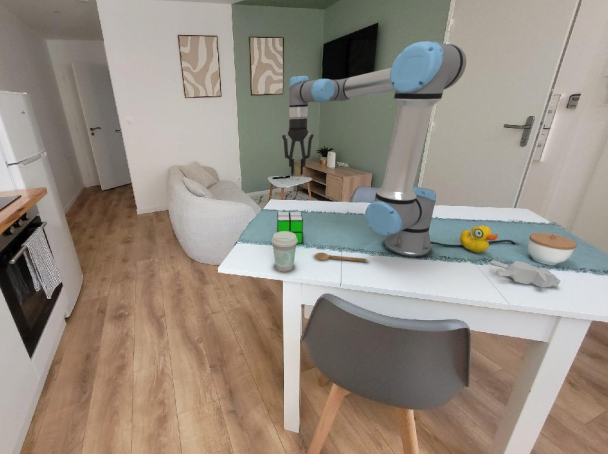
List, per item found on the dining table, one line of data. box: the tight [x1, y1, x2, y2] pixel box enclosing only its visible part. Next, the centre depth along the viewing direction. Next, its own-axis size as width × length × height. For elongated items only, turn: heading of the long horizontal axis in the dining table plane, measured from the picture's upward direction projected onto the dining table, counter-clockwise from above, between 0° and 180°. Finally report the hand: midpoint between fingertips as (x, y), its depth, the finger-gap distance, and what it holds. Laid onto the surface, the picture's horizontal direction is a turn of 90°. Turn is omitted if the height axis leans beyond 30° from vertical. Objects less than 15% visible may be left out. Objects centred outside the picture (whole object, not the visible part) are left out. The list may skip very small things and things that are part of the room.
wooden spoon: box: [315, 252, 368, 263], centre depth 102 cm, size 17×4×1 cm, turn 73°
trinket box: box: [527, 232, 578, 266], centre depth 94 cm, size 11×11×9 cm
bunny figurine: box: [489, 259, 561, 288], centre depth 86 cm, size 10×5×15 cm
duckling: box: [459, 225, 499, 253], centre depth 102 cm, size 11×5×10 cm, turn 17°
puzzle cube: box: [276, 211, 304, 244], centre depth 119 cm, size 10×10×10 cm
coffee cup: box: [271, 231, 298, 273], centre depth 97 cm, size 8×9×12 cm
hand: (297, 174), depth 129 cm, fingers open, 3 cm apart
